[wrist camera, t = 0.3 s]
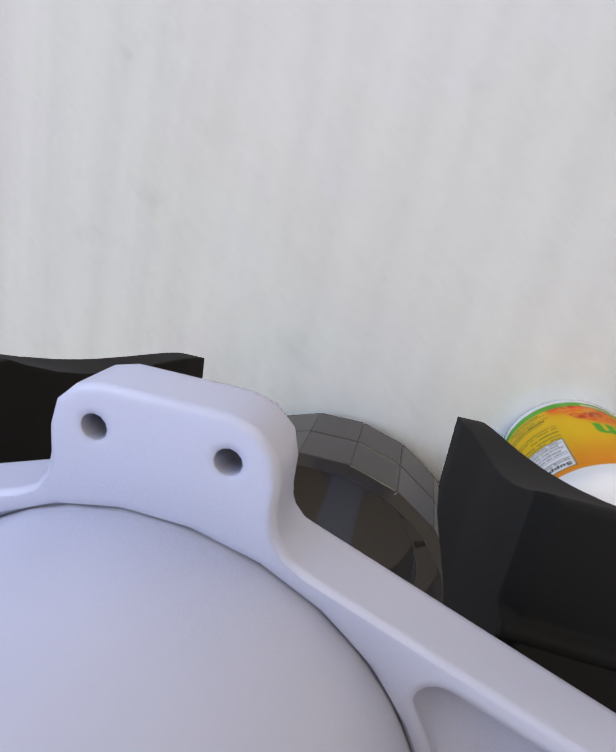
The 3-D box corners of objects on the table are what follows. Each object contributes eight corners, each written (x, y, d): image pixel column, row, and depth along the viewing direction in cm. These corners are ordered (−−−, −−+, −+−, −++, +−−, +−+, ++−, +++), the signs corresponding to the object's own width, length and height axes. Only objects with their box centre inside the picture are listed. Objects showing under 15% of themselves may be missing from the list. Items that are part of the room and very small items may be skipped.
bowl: (421, 656, 28) (420, 744, 23) (199, 589, 30) (157, 658, 25) (483, 443, 23) (495, 500, 19) (217, 384, 26) (170, 421, 21)
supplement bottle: (659, 449, 22) (821, 615, 13) (564, 527, 24) (645, 717, 15) (561, 372, 22) (653, 483, 13) (474, 456, 24) (500, 604, 15)
